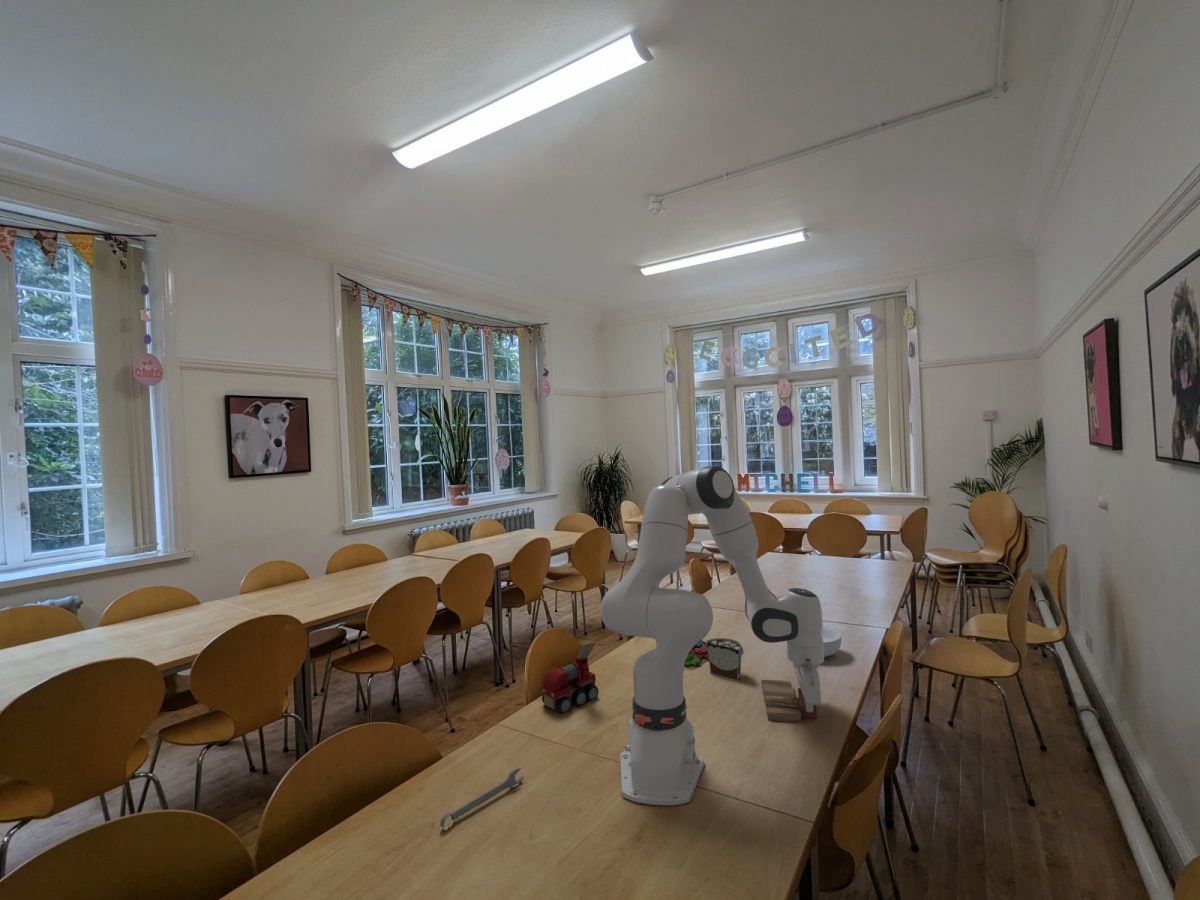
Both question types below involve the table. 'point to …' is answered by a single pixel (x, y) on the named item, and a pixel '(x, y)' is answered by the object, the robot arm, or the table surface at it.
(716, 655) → the food container
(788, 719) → the walnut board
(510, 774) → the combination wrench
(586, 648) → the toy fire truck
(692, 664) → the gear puzzle
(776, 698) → the toy wooden hammer
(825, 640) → the cereal bowl
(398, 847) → the table surface
